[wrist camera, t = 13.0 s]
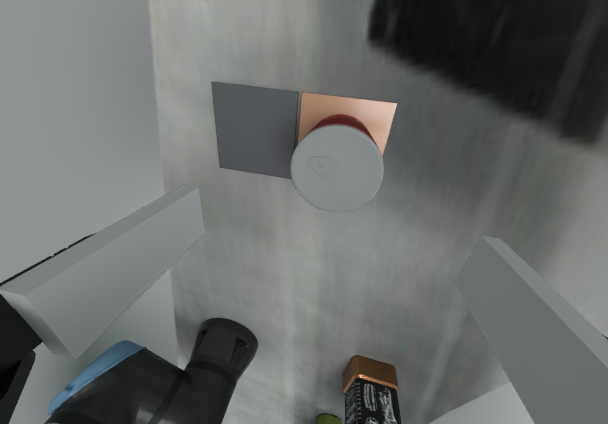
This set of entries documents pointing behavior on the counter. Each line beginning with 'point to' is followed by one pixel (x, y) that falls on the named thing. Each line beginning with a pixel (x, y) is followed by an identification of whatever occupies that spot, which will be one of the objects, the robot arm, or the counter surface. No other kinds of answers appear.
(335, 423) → the plant pot
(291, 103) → the charcoal mat
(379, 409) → the whiskey bottle
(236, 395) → the counter surface
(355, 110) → the terracotta tile
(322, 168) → the canned food
